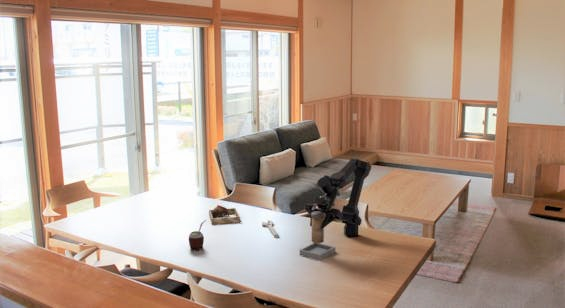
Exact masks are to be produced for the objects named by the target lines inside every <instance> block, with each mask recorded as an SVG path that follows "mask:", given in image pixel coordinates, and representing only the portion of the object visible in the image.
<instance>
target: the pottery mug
mask: <svg viewBox="0 0 565 308" xmlns="http://www.w3.org/2000/svg"><path fill="white" fill-rule="evenodd" d="M212 210H213V213H212V217H213V218H223V216H224V215H225V214H224V213H227V214H226V215H227V217H230V214H229V212H228V211H229V208H227V207H225V206H222V205H220V204H217V206H216V207H214V208H213V209H212ZM217 211H218V212H217Z"/></svg>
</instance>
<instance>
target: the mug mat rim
mask: <svg viewBox="0 0 565 308" xmlns="http://www.w3.org/2000/svg"><path fill="white" fill-rule="evenodd" d="M228 209H229V211H228V212H229V215H230V214H231V215H232V214H234V216H228V217H226V216H225V217H222V218H218V217H217V218H213V217H212V213H213V210H214V209H208V216H209V219H210V223H211V225H219V224H230V223H240V222H241V216H240V215H239V212H238V210H237V208H236V207H231V208H230V207H229V208H228ZM217 212H218V211H217ZM223 215H228V214H227V213H224V214H223Z"/></svg>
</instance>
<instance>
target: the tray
mask: <svg viewBox="0 0 565 308" xmlns="http://www.w3.org/2000/svg"><path fill="white" fill-rule="evenodd" d="M334 253H336V246H334V245H328V244H324V243H313V242H312V243H311V244H309V245H307V246H305V247H303V248H301V249H299V256H302V255H303V257H306V256H308V257H307V258H310V257H311V258H310V259H314V258H315V259H314V260H317V259H318V261H322V260H324V259H326V258H328V257H330V256H331V255H333V254H334Z"/></svg>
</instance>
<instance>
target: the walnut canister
mask: <svg viewBox="0 0 565 308" xmlns="http://www.w3.org/2000/svg"><path fill="white" fill-rule="evenodd" d="M311 217H312V227H311V242H312V243H320V244H324V242H325V230H324V229H325V227H324V228H323V229H321V226H322V223H323V221H324V219H325V214H324V212H321V211H315V212H312V213H311V214H310V218H311Z"/></svg>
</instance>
